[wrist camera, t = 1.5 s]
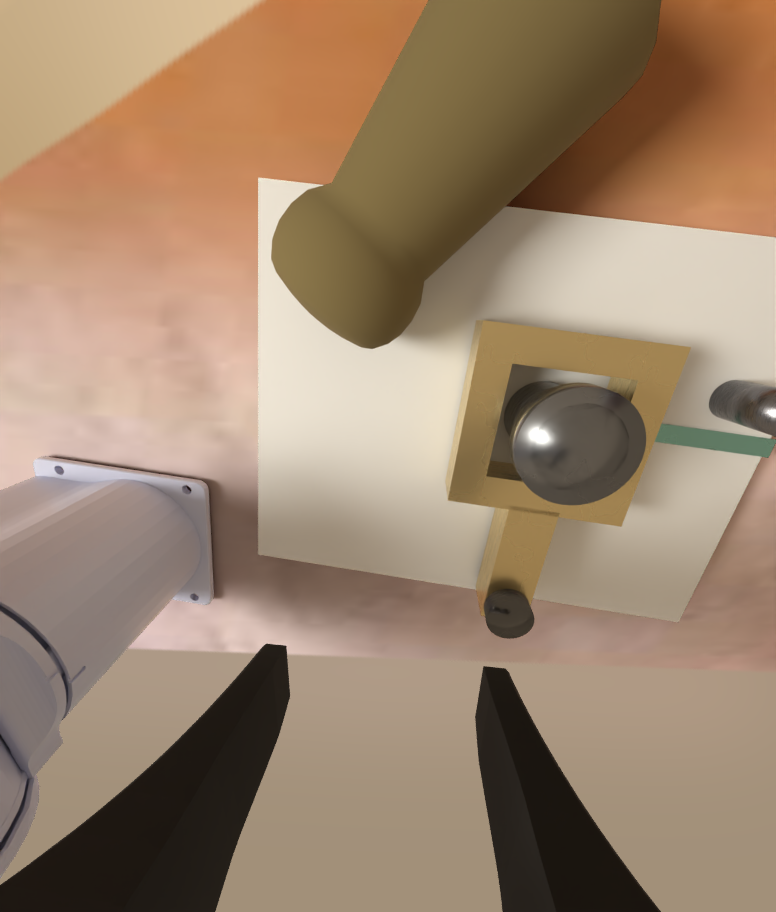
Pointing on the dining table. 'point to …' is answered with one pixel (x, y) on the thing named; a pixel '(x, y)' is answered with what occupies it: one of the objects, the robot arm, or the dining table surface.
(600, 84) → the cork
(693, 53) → the dining table surface
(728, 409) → the dark metal domed fitting
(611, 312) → the board
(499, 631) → the collar
